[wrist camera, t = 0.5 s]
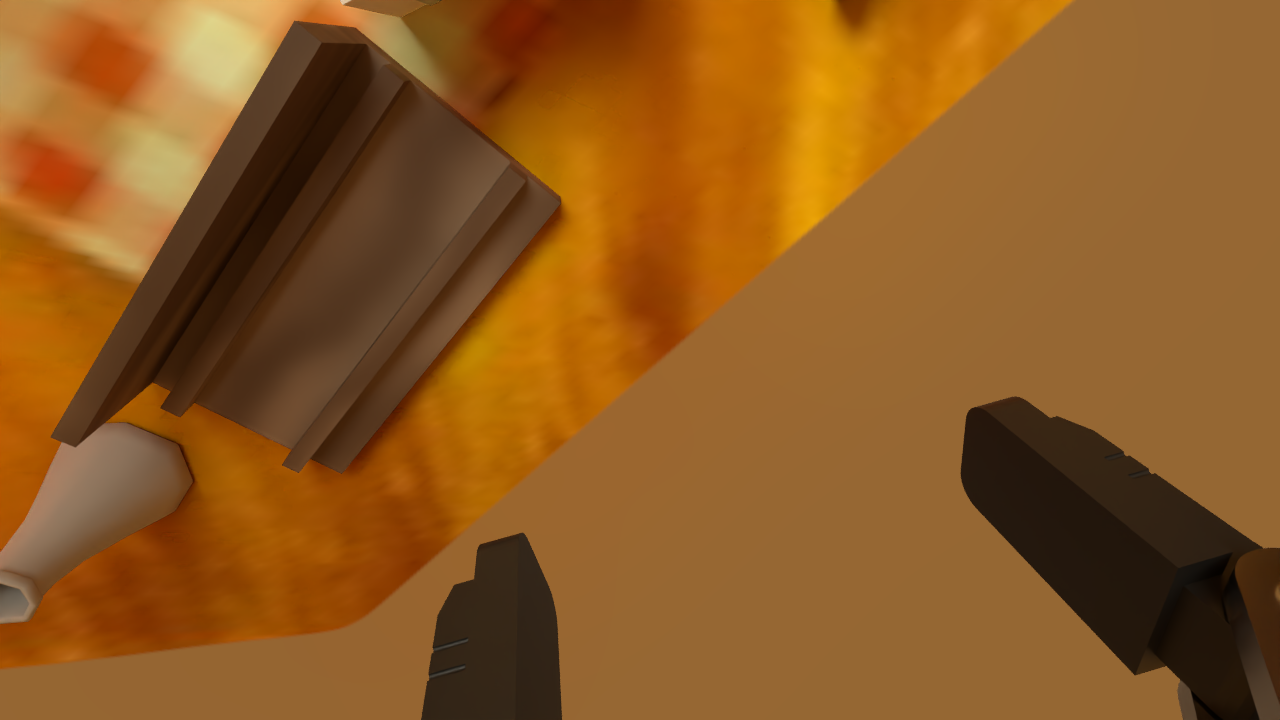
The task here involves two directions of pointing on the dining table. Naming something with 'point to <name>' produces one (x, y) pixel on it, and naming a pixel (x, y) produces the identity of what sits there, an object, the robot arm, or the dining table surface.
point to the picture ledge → (320, 256)
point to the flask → (89, 509)
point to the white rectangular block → (389, 5)
